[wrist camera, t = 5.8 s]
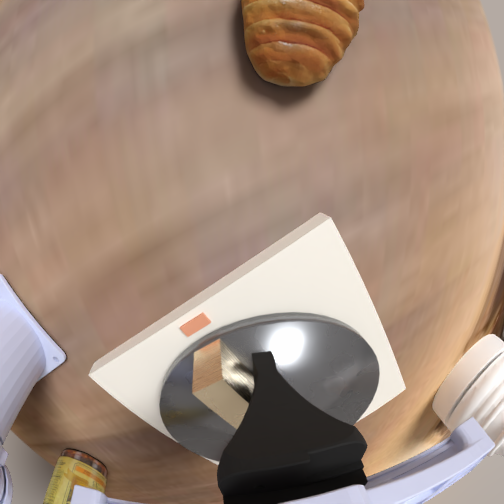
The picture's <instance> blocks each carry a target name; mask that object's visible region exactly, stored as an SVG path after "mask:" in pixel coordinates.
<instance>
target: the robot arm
mask: <svg viewBox="0 0 504 504" xmlns="http://www.w3.org/2000/svg"><path fill="white" fill-rule="evenodd" d="M56 357H57V358H58V359H57V358H56ZM65 359H66V354H65V353H64V352H63V351H62V350H61V348H60V347H59V346H58V345H57V344H56V343H55V342H54V341H53V340H52V339H51V338H50V336H49V335H48V334H47V333H46V332H45V331H44V330H43V328H42V327H41V326H40V325H39V324H38V322H37V321H36V320H35V319H34V318H33V316H32V315H31V314H30V312H29V311H28V310H27V309H26V307H25V306H24V305H23V303H22V302H21V301H20V299H19V298H18V297H17V295H16V294H15V292H14V291H13V290H12V288H11V287H10V285H9V284H8V282H7V281H6V279H5V278H4V276H3V275H1V274H0V504H11V501H12V494H13V485H12V479H11V475H10V472H9V470H8V468H7V466H6V465H5V461H6V459H7V457H8V453H7V452H6V451H5V450H4V448H3V447H2V445H3V443H4V441H5V439H6V437H7V435H8V433H9V431H10V429H11V427H12V425H13V423H14V421H15V419H16V417H17V415H18V413H19V411H20V410H21V408H22V406H23V404H24V402H25V401H26V399H27V397H28V395H29V394H30V392H31V390H32V388H33V387H34V385H35V383H36V382H38V381H39V380H40V379H42V378H43V377H44V376H46V375H47V374H48V373H50V372H51V371H52V370H54V369H55V368H56V367H58V366H59V365H60V364H62V363H63V362H64V361H65ZM252 365H253V376H254V385H255V386H254V389H253V393H252V397H251V400H250V403H249V406H248V408H247V411H246V413H245V415H244V417H243V420H242V422H241V424H240V425H239V427H238V429H237V431H236V432H235V434H234V436H233V437H232V439H231V440H230V442H229V443H228V445H227V446H226V447H225V449H224V450H223V453H222V456H221V459H220V462H219V465H218V470H217V480H218V487H219V489H220V491H221V493H222V494H223V500H224V504H423V503H424V502H426V501H428V500H429V499H431V498H432V497H434V496H436V495H437V494H439V493H440V492H442V491H443V490H445V489H446V488H448V487H449V486H451V485H452V484H454V483H455V482H456V481H458V480H459V479H461V478H462V477H463V476H465V475H466V474H467V473H469V472H470V471H471V470H473V469H474V468H475V467H476V466H477V465H478V463H480V462H481V460H482V459H484V457H485V456H486V455H487V454H488V453H489V452H490V451H491V450H492V449H493V448H494V447H495V444H494V442H493V441H492V440H491V439H490V437H489V436H488V435H487V433H486V432H485V431H484V430H483V428H482V427H481V426H480V425H479V424H478V422H477V421H476V420H475V419H474V417H471V418H469V419H468V420H466V421H465V422H463V423H462V424H460V425H459V426H458V427H457V428H455V430H454V431H453V432H452V433H451V435H450V437H448V438H447V439H445V440H443V441H442V442H440V443H438V444H437V445H435V446H433V447H431V448H429V449H428V450H426V451H424V452H422V453H420V454H418V455H416V456H414V457H412V458H410V459H408V460H406V461H404V462H402V463H400V464H397V465H395V466H393V467H391V468H388V469H386V470H384V471H381V472H379V473H376V474H374V475H371V476H368V477H366V476H365V473H364V471H363V469H362V468H363V467H364V465H363V463H362V461H361V459H362V457H363V455H364V453H365V451H366V449H367V444H366V441H365V439H364V438H363V436H362V435H361V433H360V432H359V431H358V429H357V428H356V427H355V426H352V425H350V424H347V423H345V422H343V421H340V420H338V419H336V418H334V417H332V416H330V415H329V414H327V413H325V412H324V411H322V410H321V409H319V408H317V407H316V406H314V405H313V404H312V403H310V402H309V401H308V400H306V399H305V398H304V397H303V396H301V395H300V394H299V393H298V392H297V391H296V390H295V389H294V388H293V387H292V386H291V385H290V384H289V383H288V382H287V381H286V380H285V379H284V378H283V376H282V375H281V374H280V373H279V372H278V370H277V368H276V363H275V359H274V356H273V354H272V352H271V351H266V352H258V353H252ZM70 504H144V503H137V502H130V501H124V500H119V499H113V498H108V497H107V496H106V495H105V494H104V493H102V492H100V491H98V490H95V489H92V488H88V487H84V486H80V485H75V486H74V490H73V494H72V498H71V502H70Z"/></svg>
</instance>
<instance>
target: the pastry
mask: <svg viewBox="0 0 504 504" xmlns="http://www.w3.org/2000/svg"><path fill="white" fill-rule="evenodd" d="M241 4H242V14H243V21H244V38H245V45H246V51H247V54H248V57H249V59H250V61H251V63H252V65H253V67H254V69H255V71H256V72H257V74H258V75H259V76H260V77H262V78H263V79H264V80H265V81H268V82H271V83H274V84H277V85H280V86H303V87H304V86H308V85H310V84H313V83H316V82H319V81H322V80H325V78H326V77H327V75H328V74H329V72H330V71H331V69H332V67H333V66H334V65H335V64H336V63H337V62H339V61H340V60H341V59H342V57H343V55H344V52H345V50H346V48H347V47H348V46H349V44H350V43H351V40H352V39H353V38H354V37H355V36H356V35H357V31H358V28H359V20H358V19H359V12H360V11H361V10H363V8H364V0H241Z"/></svg>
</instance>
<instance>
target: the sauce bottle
mask: <svg viewBox="0 0 504 504" xmlns="http://www.w3.org/2000/svg"><path fill="white" fill-rule="evenodd" d="M106 478H107V470H106V468H105V466H104V465H103V464H102V463H101V462H99V461H97V460H96V459H94V458H93V457H91V456H90V455H88V454H86V453H84V452H79V451H76V450H72V449H66V450H64V451H63V452H62V453H61V456H60V457H59V458H58V461H57V464H56V466H55V469H54V472H53V475H52V478H51V481H50V483H49V486H48V489H47V492H46V496H45V499H44V502H43V504H70V502H71V498H72V494H73V490H74V486H75V485H80V486H84V487H88V488H92V489H95V490H98V491H100V492H102V493H104V492H105V487H106V483H107V481H106Z"/></svg>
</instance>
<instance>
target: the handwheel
mask: <svg viewBox="0 0 504 504" xmlns="http://www.w3.org/2000/svg"><path fill="white" fill-rule="evenodd" d="M266 351H271V352H272V354H273V356H274V359H275V363H276V368H277V370H278V372H279V373H280V374H281V375H282V376H283V378H284V379H285V380H286V381H287V382H288V383H289V384H290V385H291V386H292V387H293V388H294V389H295V390H296V391H297V392H298V393H299V394H300V395H301V396H303V397H304V398H305V399H306V400H308V401H309V402H310V403H312V404H313V405H314V406H316V407H317V408H319V409H321V410H322V411H324V412H325V413H327V414H329V415H330V416H332V417H334V418H336V419H338V420H340V421H343V422H345V423H347V424H350V425H352V426H353V425H354V424H355V423H356V422H357V421H358V420H359V419H360V417H361V416H362V415H363V414H364V412H365V411H366V410H367V408H368V407H369V405H370V403H371V402H372V400H373V398H374V396H375V393H376V391H377V387H378V384H379V376H380V371H379V363H378V360H377V356H376V355H375V353H374V351H373V349H372V348H371V346H370V345H369V344H368V343H367V342H366V340H365V339H364V338H363V337H362V336H361V335H360V333H359V332H357V331H356V330H355V329H353V328H352V327H351V326H349V325H348V324H346V323H344V322H342V321H340V320H337V319H334V318H331V317H328V316H325V315H319V314H314V313H302V312H285V313H273V314H266V315H260V316H255V317H251V318H247V319H244V320H240V321H237V322H234V323H232V324H229V325H226V326H223V327H221V328H219V329H217V330H215V331H213V332H211V333H209V334H207V335H205V336H204V337H202V338H201V339H199V340H197V341H196V342H194V343H193V344H192V345H190V346H189V347H188V348H187V349H186V350H185V351H183V352H182V353H181V354H180V355H179V356H178V358H177V359H176V360H175V361H174V362H173V363H172V365H171V367H170V368H169V370H168V372H167V373H166V376H165V378H164V381H163V384H162V390H161V397H160V403H159V406H160V415H161V418H162V422H163V424H164V426H165V427H166V429H167V431H168V432H169V433H170V435H171V436H172V437H173V438H174V439H175V440H176V441H177V442H178V443H179V444H181V445H182V446H184V447H185V448H187V449H188V450H190V451H192V452H194V453H196V454H198V455H200V456H203V457H205V458H208V459H211V460H215V461H219V462H220V459H221V456H222V453H223V450H224V449H225V447H226V446H227V445H228V443H229V442H230V440H231V439H232V437H233V436H234V434H235V432H236V431H237V429H238V427H239V425H240V424H241V422H242V420H243V417H244V415H245V413H246V411H247V408H248V406H249V403H250V400H251V397H252V393H253V389H254V386H255V385H254V376H253V365H252V353H258V352H266Z"/></svg>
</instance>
